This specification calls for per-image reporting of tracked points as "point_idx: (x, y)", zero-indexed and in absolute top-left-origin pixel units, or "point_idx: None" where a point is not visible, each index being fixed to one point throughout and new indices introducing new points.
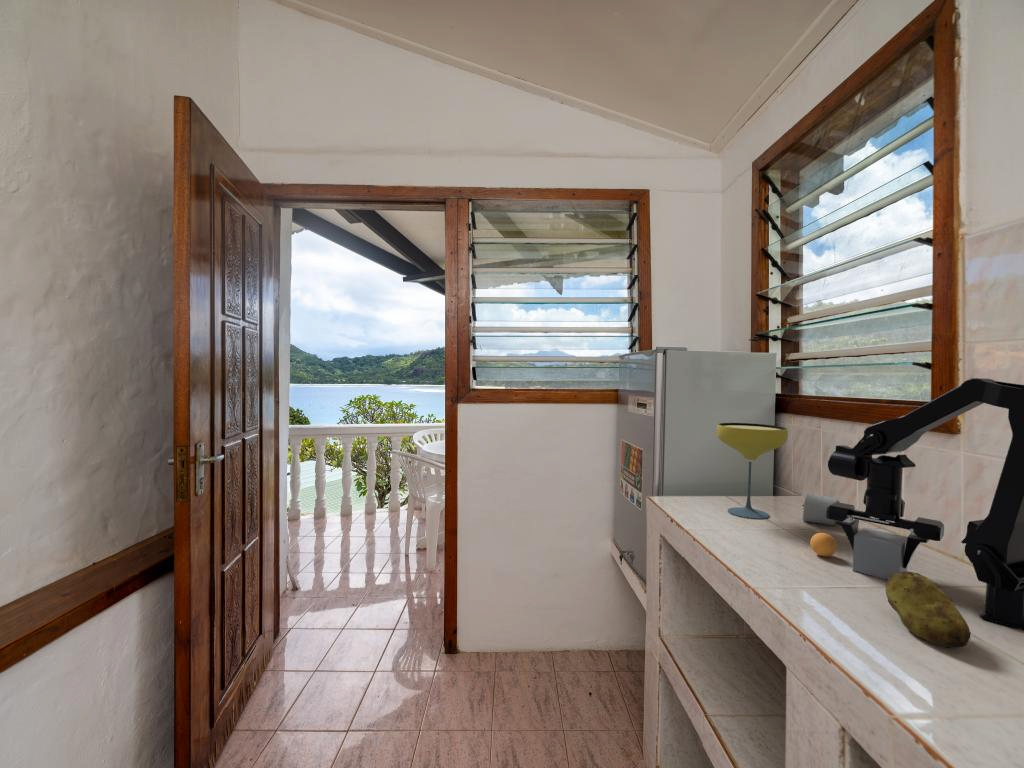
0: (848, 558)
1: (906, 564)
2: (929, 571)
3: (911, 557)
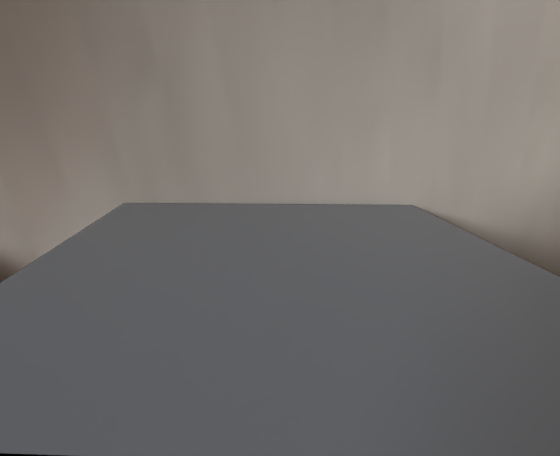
0: (21, 205)
1: None
2: (555, 14)
3: None
